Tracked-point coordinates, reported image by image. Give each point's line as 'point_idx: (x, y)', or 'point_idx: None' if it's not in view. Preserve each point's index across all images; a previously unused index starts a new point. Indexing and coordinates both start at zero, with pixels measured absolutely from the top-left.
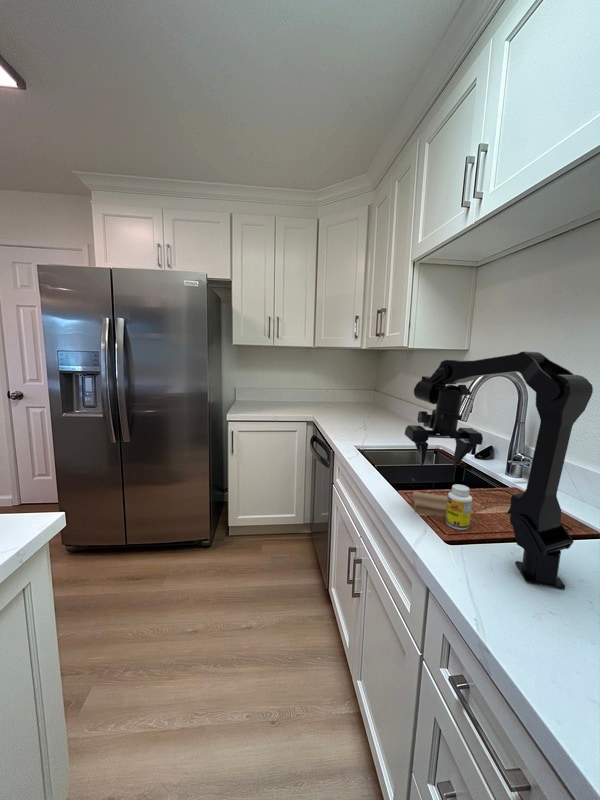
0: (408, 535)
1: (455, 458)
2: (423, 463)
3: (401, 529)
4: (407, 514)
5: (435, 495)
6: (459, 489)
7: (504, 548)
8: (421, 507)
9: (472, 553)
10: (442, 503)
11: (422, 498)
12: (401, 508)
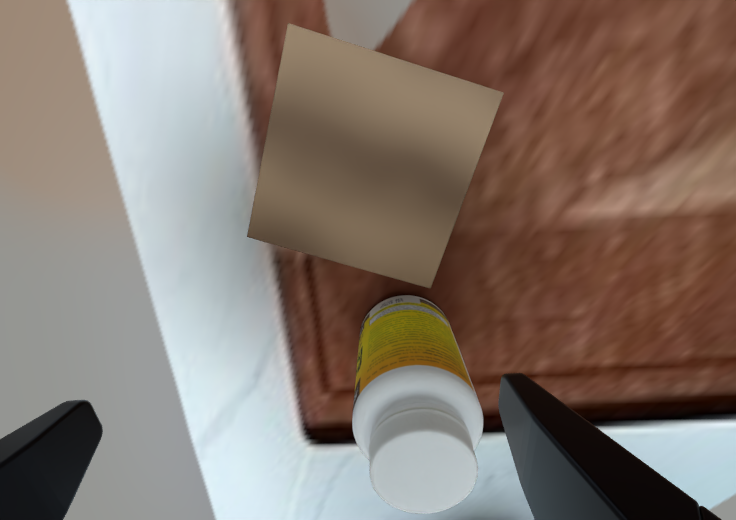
0: (190, 400)
1: (545, 482)
2: (88, 464)
3: (171, 365)
4: (218, 246)
5: (416, 83)
6: (393, 505)
7: (484, 460)
8: (277, 243)
9: (364, 482)
10: (406, 203)
11: (314, 138)
12: (201, 184)
